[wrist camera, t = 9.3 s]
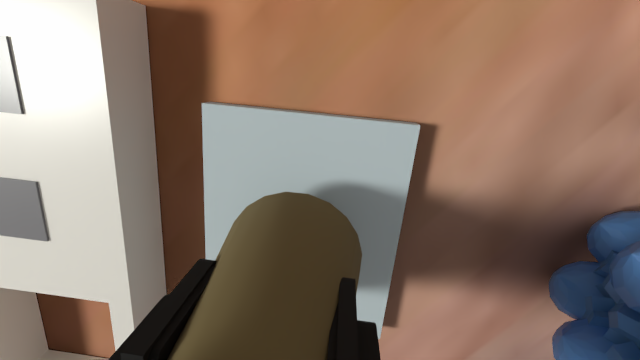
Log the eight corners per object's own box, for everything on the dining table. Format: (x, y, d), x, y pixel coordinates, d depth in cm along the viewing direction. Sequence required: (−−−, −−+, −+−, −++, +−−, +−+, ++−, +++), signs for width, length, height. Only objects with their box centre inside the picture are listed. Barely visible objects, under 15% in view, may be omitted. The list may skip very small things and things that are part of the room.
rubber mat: (378, 325, 18) (379, 338, 17) (214, 303, 19) (206, 314, 18) (415, 122, 15) (420, 125, 14) (210, 101, 15) (201, 103, 14)
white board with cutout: (173, 392, 21) (146, 441, 18) (38, 371, 22) (-10, 415, 19) (145, 5, 14) (91, -15, 11) (-57, -12, 15) (-160, -36, 12)
